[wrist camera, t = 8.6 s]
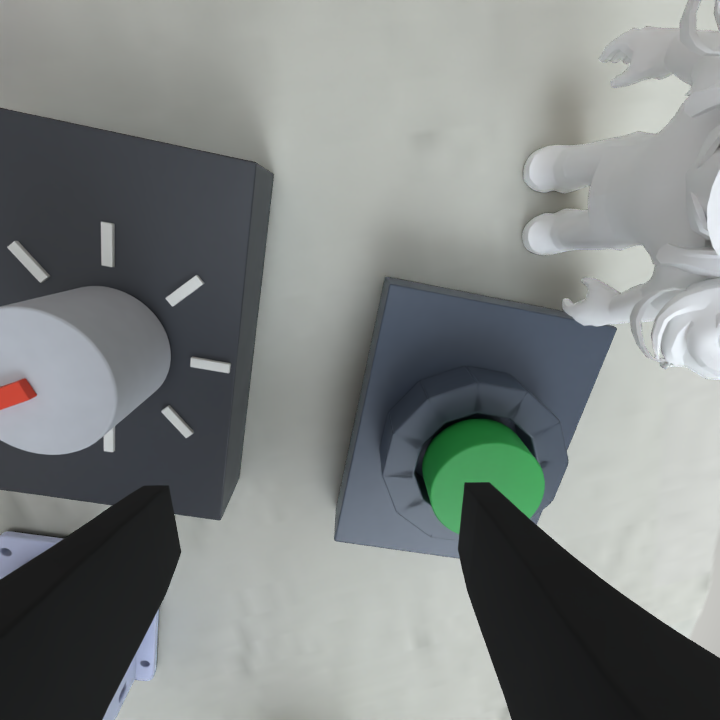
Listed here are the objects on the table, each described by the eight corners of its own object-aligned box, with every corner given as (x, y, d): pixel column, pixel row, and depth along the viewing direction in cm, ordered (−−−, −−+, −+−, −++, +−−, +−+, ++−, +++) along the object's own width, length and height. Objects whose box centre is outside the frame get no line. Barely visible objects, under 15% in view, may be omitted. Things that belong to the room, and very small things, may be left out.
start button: (506, 513, 16) (524, 546, 15) (411, 499, 16) (418, 530, 14) (539, 427, 15) (562, 452, 13) (436, 409, 15) (447, 433, 13)
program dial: (133, 267, 13) (50, 284, 10) (193, 382, 15) (140, 434, 11) (19, 310, 14) (-102, 341, 10) (87, 417, 15) (3, 480, 12)
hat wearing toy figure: (591, 308, 17) (1046, 471, 6) (501, 314, 17) (786, 487, 6) (623, 62, 14) (1636, -536, 3) (515, 68, 14) (1125, -504, 3)
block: (503, 533, 21) (536, 601, 17) (335, 509, 20) (332, 574, 17) (586, 315, 17) (651, 340, 14) (384, 276, 17) (394, 291, 13)
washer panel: (239, 478, 20) (219, 523, 17) (49, 450, 19) (-7, 492, 16) (274, 173, 15) (255, 161, 12) (29, 121, 15) (-55, 95, 12)
